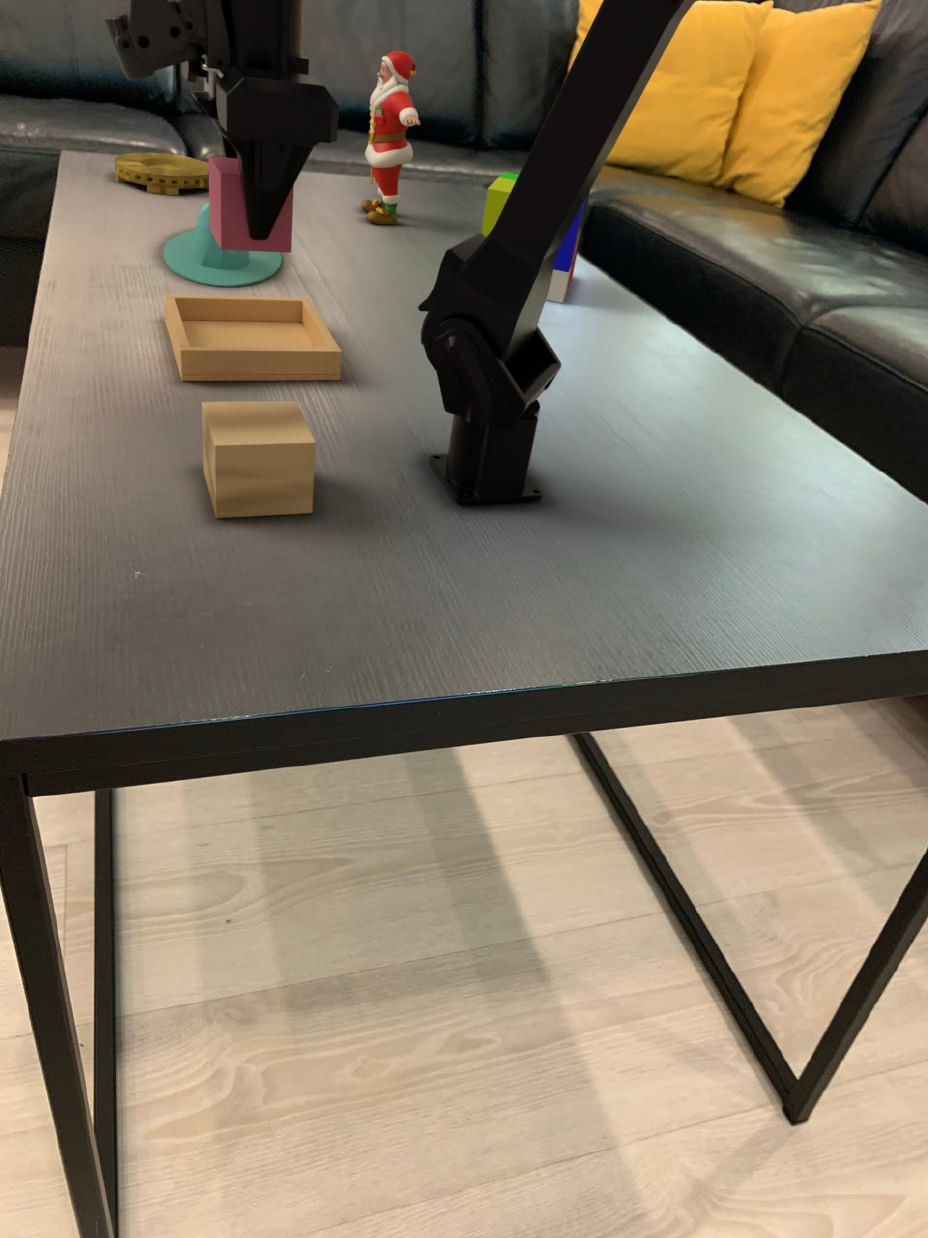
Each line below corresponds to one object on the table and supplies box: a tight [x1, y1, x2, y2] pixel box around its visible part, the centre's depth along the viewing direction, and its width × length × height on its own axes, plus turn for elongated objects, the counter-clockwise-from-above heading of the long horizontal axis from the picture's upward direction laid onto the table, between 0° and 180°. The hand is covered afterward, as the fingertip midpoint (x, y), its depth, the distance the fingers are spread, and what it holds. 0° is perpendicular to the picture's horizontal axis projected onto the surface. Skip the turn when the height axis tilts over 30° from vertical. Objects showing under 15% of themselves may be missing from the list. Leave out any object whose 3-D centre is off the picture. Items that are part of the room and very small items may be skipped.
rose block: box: [208, 156, 295, 254], centre depth 62 cm, size 5×5×5 cm
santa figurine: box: [361, 50, 421, 226], centre depth 116 cm, size 25×6×19 cm, turn 12°
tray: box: [163, 293, 343, 382], centre depth 79 cm, size 13×13×2 cm
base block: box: [201, 400, 317, 519], centre depth 59 cm, size 6×6×5 cm
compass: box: [114, 152, 209, 196], centre depth 119 cm, size 12×12×2 cm
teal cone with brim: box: [162, 201, 283, 288], centre depth 97 cm, size 12×20×9 cm, turn 7°
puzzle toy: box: [481, 171, 591, 304], centre depth 104 cm, size 10×10×10 cm
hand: (251, 227), depth 63 cm, fingers closed on rose block, 4 cm apart
